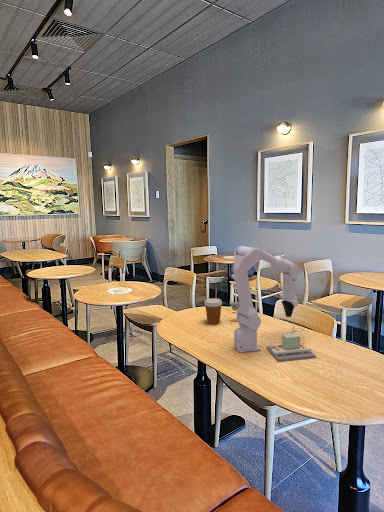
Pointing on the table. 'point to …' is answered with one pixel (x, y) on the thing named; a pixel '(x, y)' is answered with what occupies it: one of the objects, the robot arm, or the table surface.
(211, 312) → the disposable coffee cup
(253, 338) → the robot arm
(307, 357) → the rail board
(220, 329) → the table surface
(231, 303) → the mechanical component
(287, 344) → the block
